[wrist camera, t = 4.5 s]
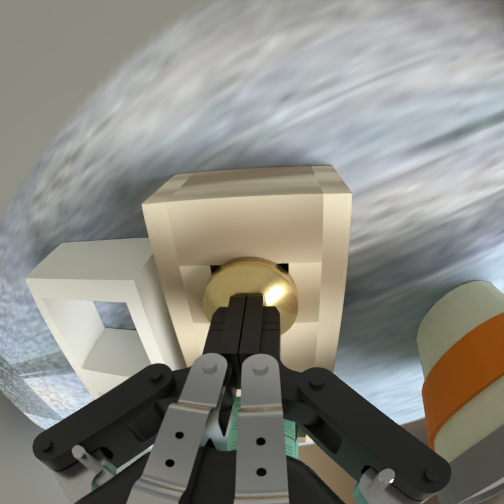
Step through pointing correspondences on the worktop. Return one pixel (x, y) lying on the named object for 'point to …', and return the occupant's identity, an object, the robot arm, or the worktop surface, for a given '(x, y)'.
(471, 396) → the reusable coffee cup
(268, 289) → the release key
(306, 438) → the socket block
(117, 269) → the frame
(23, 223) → the worktop surface
